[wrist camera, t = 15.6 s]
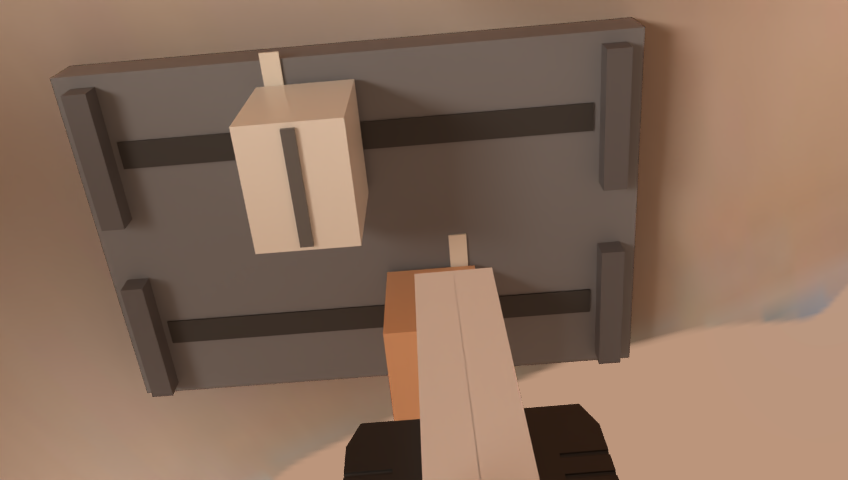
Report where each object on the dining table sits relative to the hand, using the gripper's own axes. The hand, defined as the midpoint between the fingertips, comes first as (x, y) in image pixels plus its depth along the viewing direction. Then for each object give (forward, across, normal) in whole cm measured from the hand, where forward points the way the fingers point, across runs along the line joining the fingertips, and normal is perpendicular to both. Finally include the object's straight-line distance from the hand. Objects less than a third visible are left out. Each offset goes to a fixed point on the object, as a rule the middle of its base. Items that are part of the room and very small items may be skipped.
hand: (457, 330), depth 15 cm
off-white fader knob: (+18, -5, -2) cm, 19 cm away
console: (+20, -3, -6) cm, 21 cm away
